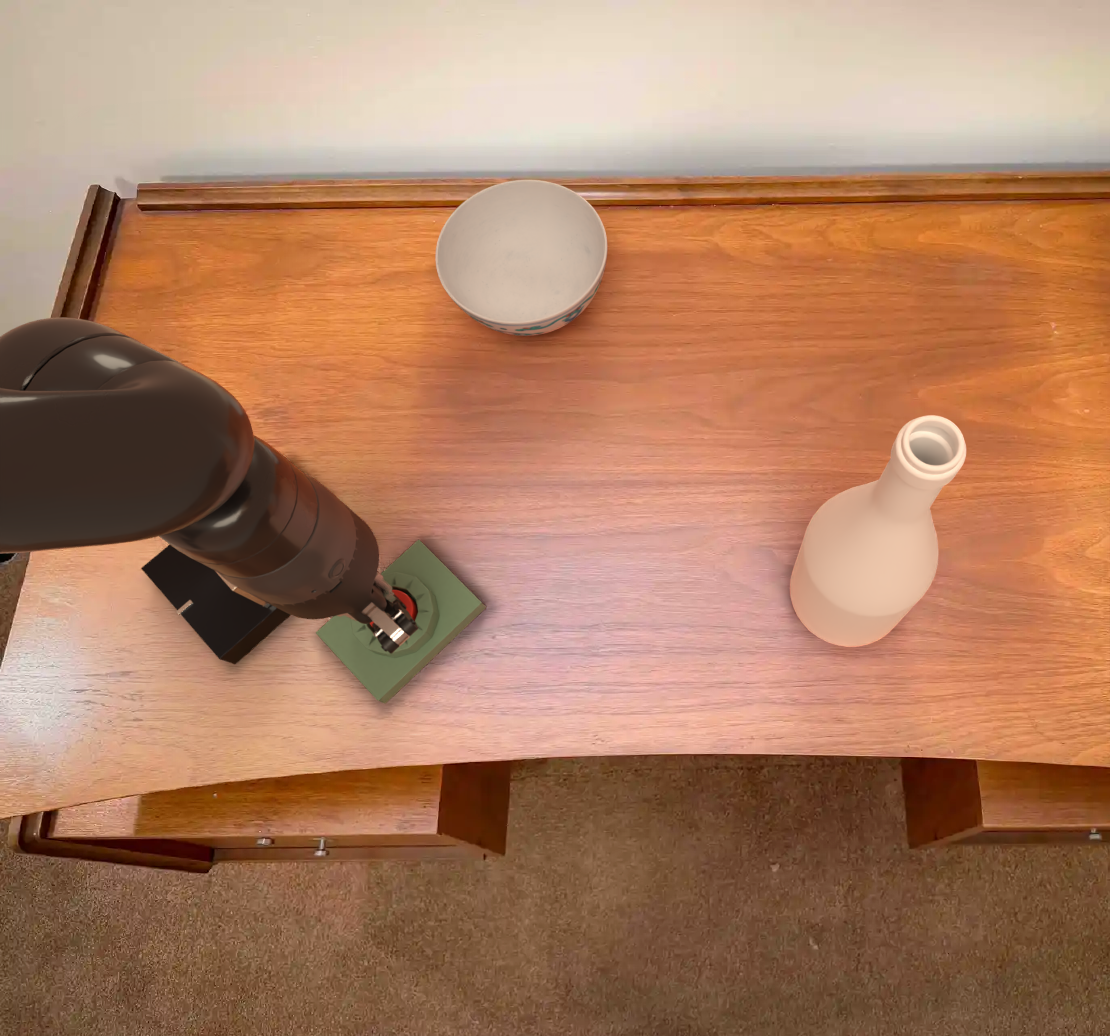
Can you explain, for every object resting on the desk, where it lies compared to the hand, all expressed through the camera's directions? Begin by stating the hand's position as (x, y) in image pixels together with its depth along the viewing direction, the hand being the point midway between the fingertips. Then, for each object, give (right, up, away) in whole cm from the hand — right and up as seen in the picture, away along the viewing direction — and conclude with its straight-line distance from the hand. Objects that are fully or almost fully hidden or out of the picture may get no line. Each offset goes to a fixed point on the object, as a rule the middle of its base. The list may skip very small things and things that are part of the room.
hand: (391, 610), depth 69 cm
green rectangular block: (0, -1, +4) cm, 4 cm away
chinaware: (+9, +28, +14) cm, 33 cm away
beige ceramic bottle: (+37, +1, +4) cm, 37 cm away
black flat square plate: (-13, +4, +6) cm, 14 cm away
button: (0, -1, +2) cm, 2 cm away
